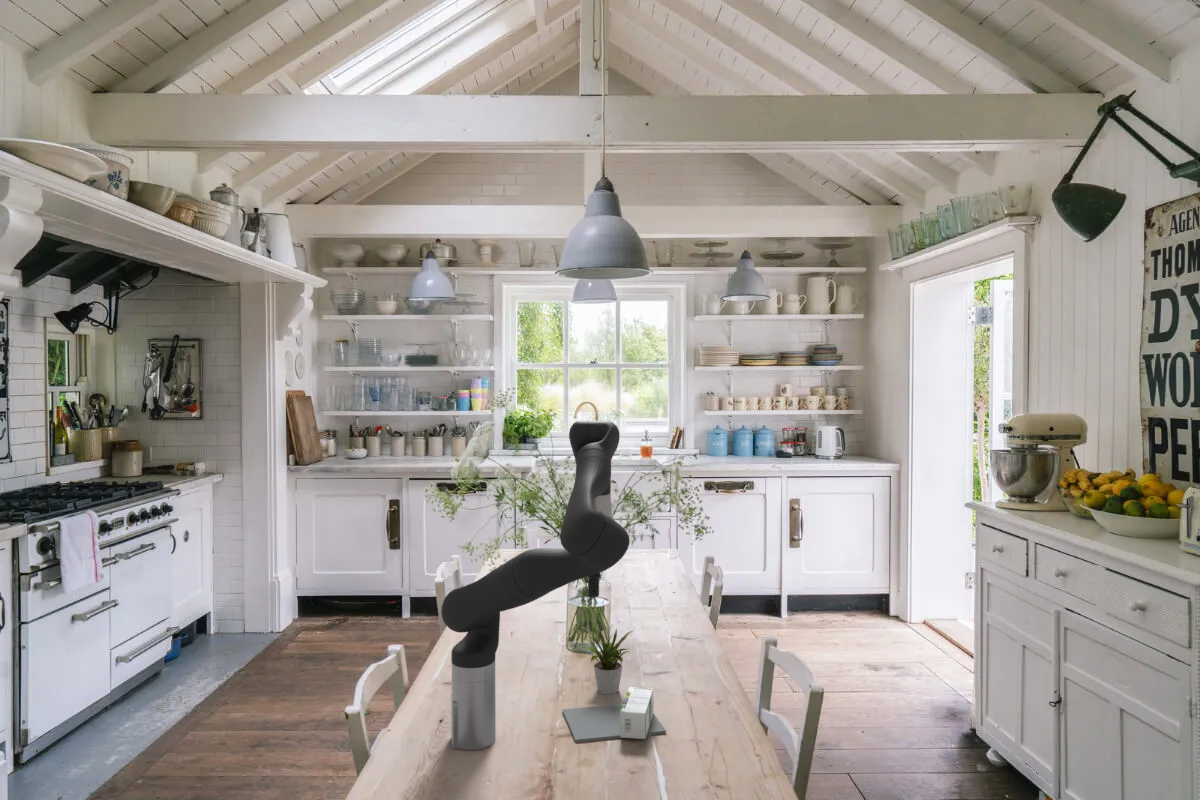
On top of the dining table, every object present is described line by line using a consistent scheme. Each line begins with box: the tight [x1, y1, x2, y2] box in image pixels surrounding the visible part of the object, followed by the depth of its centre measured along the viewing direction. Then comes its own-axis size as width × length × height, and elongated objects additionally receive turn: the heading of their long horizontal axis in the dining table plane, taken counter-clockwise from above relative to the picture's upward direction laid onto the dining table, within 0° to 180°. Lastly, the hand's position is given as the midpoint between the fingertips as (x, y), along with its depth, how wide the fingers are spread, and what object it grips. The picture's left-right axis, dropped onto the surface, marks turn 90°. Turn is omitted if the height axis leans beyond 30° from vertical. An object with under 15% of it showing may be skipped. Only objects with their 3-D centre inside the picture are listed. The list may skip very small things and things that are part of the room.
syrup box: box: [620, 686, 655, 740], centre depth 177 cm, size 6×6×14 cm
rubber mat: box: [561, 703, 667, 743], centre depth 180 cm, size 20×16×1 cm
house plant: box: [580, 625, 635, 695], centre depth 198 cm, size 14×14×16 cm
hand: (593, 595), depth 170 cm, fingers closed
